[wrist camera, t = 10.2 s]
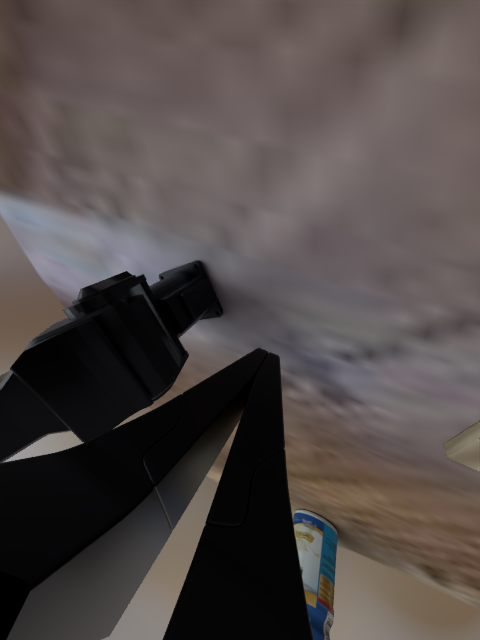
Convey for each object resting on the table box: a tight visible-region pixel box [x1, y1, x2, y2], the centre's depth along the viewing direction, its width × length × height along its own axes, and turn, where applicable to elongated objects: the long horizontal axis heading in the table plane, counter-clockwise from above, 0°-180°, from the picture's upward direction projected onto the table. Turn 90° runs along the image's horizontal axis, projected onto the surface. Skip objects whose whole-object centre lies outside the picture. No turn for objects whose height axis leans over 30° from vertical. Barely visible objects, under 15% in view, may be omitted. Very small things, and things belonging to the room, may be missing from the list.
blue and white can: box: [293, 510, 338, 640], centre depth 35 cm, size 8×8×20 cm
